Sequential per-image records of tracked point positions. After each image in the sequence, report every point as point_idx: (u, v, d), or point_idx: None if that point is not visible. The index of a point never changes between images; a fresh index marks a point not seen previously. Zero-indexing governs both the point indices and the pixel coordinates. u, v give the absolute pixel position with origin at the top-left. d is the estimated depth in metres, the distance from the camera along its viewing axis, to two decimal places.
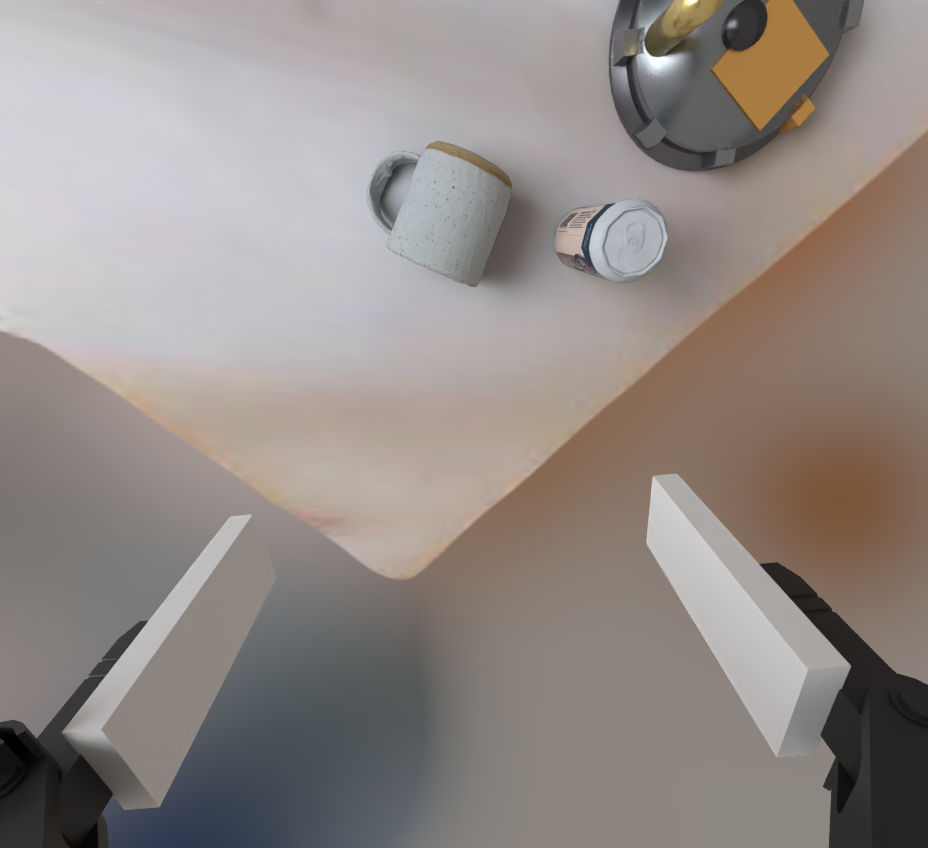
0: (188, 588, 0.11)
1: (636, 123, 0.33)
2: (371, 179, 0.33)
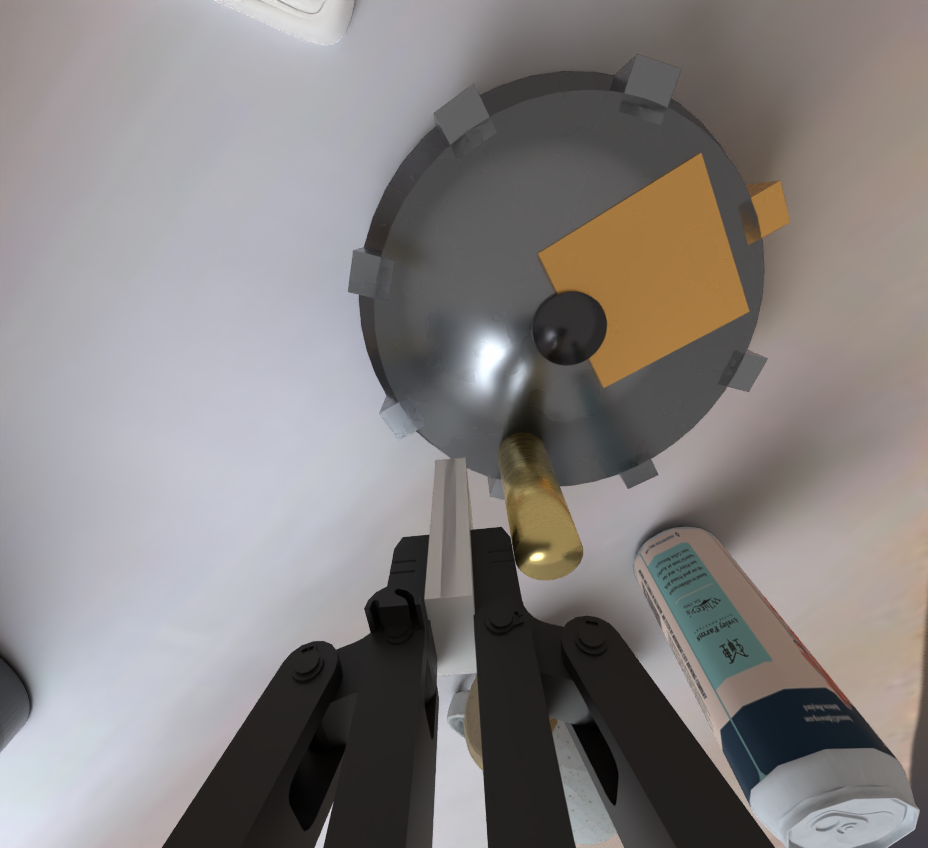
0: (444, 509, 0.13)
1: None
2: (459, 733, 0.29)
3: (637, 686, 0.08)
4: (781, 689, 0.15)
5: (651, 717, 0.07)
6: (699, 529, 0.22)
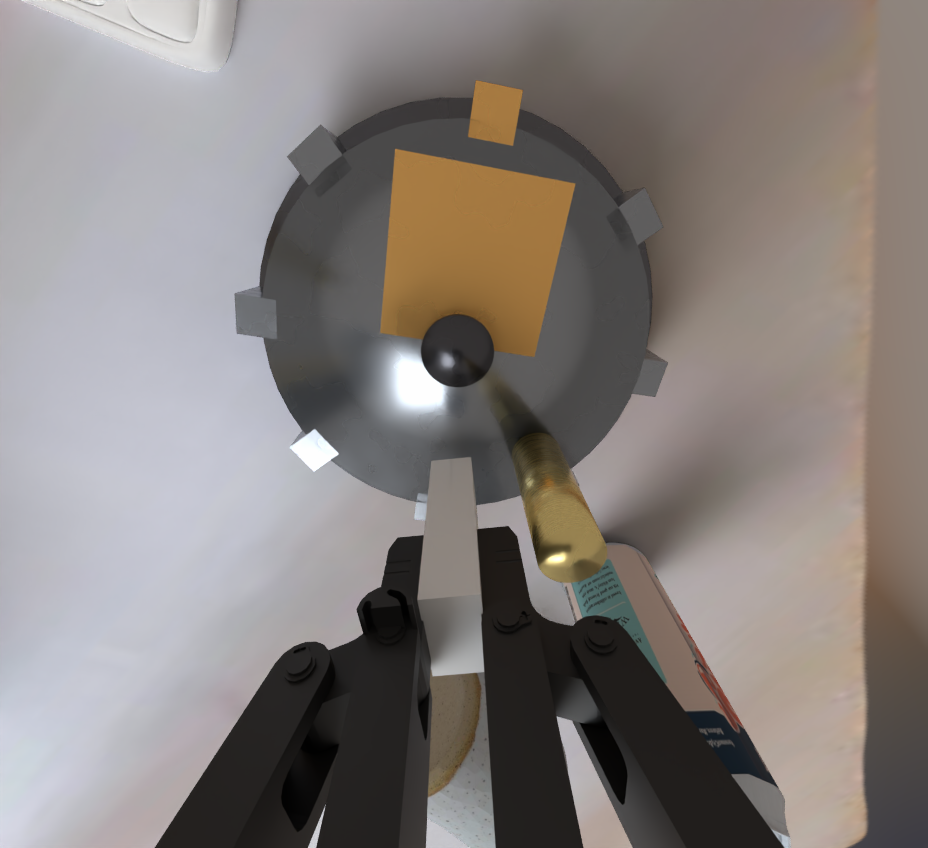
0: (439, 509, 0.13)
1: None
2: None
3: (646, 686, 0.08)
4: None
5: (661, 717, 0.07)
6: (624, 545, 0.22)
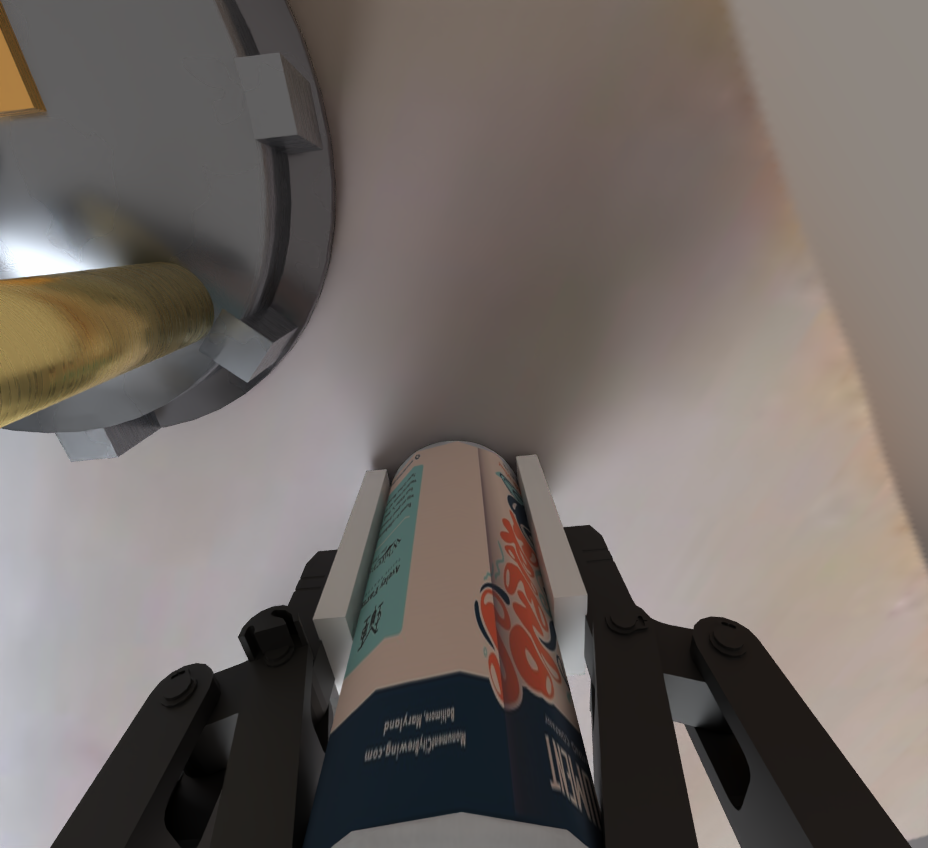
0: (360, 523, 0.13)
1: (227, 381, 0.14)
2: None
3: (780, 697, 0.07)
4: (373, 691, 0.07)
5: (796, 731, 0.07)
6: (455, 441, 0.15)
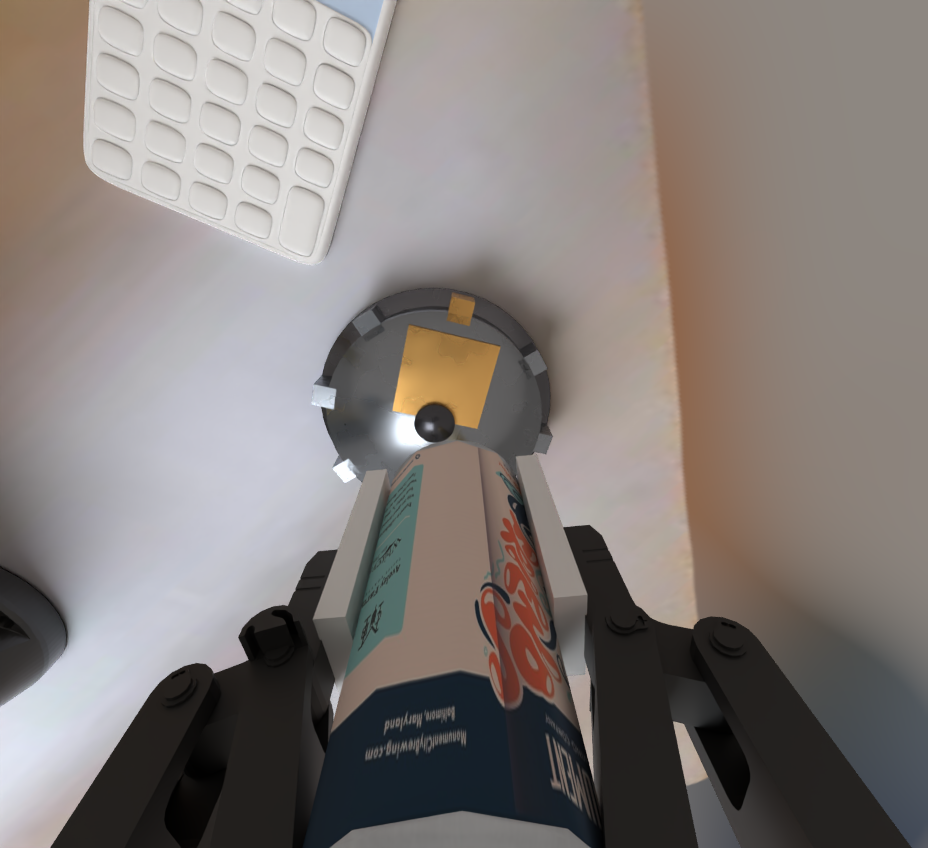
0: (360, 522, 0.13)
1: None
2: None
3: (780, 697, 0.07)
4: (373, 690, 0.07)
5: (796, 731, 0.07)
6: (455, 441, 0.15)
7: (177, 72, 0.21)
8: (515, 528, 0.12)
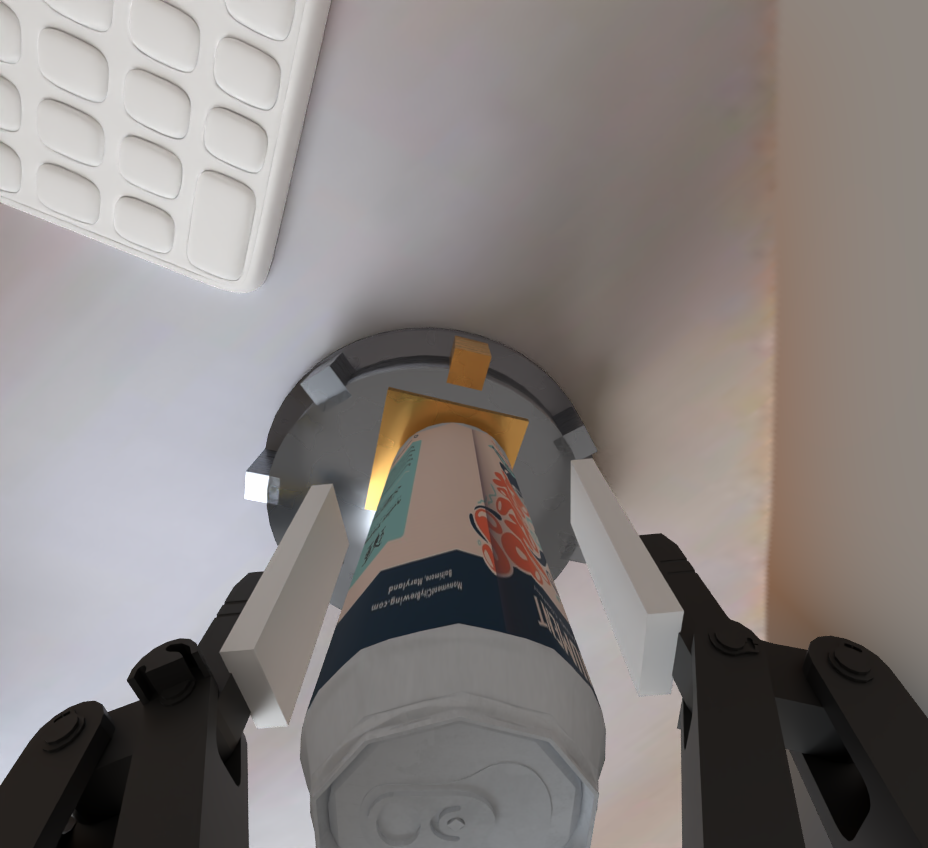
0: (293, 543, 0.12)
1: None
2: None
3: (915, 732, 0.07)
4: (378, 573, 0.08)
5: None
6: (451, 423, 0.16)
7: None
8: (506, 482, 0.13)
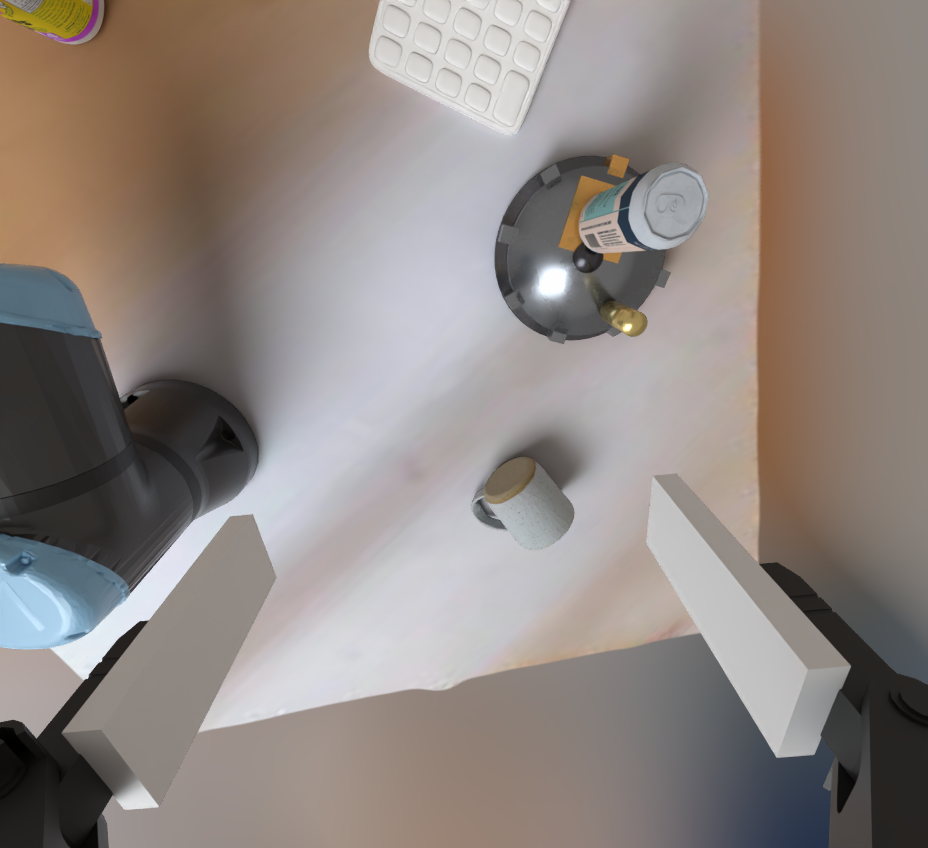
0: (188, 588, 0.11)
1: None
2: (476, 518, 0.51)
3: None
4: (636, 177, 0.27)
5: None
6: None
7: None
8: None
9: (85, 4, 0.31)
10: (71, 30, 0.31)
